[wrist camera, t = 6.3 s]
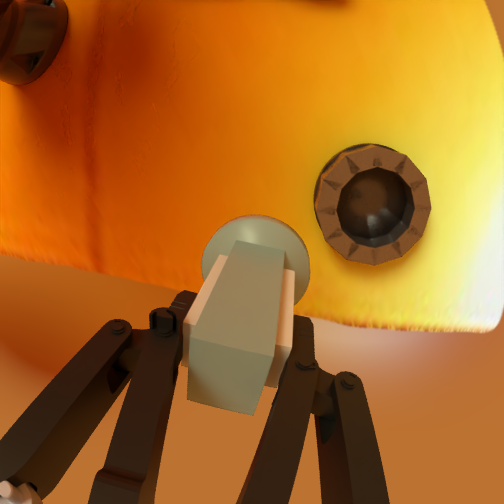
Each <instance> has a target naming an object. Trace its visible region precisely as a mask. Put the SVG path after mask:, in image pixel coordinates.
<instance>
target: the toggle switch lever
mask: <svg viewBox="0 0 504 504" xmlns="http://www.w3.org/2000/svg"><path fill="white" fill-rule="evenodd" d="M220 254H221V255H225V256H228V258H227V260H226V262H225V264H224V266H223V268H222V271H221V273H220V275H219V277H218V279H217V281H216V283H215V285H214V287H213V289H212V291H211V294H210V296H209V298H208V300H207V302H206V304H205V306H204V308H203V310H202V313H201V315H200V317H199V319H198V321H197V323H196V325H195V327H194V330H193V332H192V334H191V336H190V347H189V365H188V388H187V400H190V401H194V402H198V403H201V404H205V405H209V406H213V407H217V408H221V409H226V410H230V411H234V412H238V413H243V414H248V415H254V412H255V409H256V406H257V404H258V401H259V398H260V395H261V393H262V390H263V386H264V384H265V381H266V378H267V375H268V372H269V369H270V366H271V363H272V360H273V357H274V350H275V342H276V333H277V324H278V315H279V305H280V296H281V286H282V275H283V268H284V269H288V270H293V271H295V279H294V305H295V304H297V303H298V302H299V300H300V299H301V298H302V297H303V295H304V293H305V292H306V289H307V287H308V284H309V280H310V263H309V255H308V251H307V248H306V246H305V244H304V242H303V240H302V239H301V237H300V236H299V235H298V234H297V233H296V232H295V231H294V229H292V228H291V227H290V226H289V225H287V224H286V223H284V222H282V221H280V220H278V219H275V218H273V217H269V216H264V215H245V216H241V217H238V218H235V219H232V220H230V221H229V222H227V223H225V224H224V225H223V226H221V227H220V228H219V229H218V230H217V231H216V233H215V234H214V235H213V237H212V238H211V240H210V241H209V243H208V244H207V246H206V248H205V250H204V253H203V257H202V265H201V268H202V275H203V279H204V282H205V280H206V278H207V277H208V275H209V273H210V271H211V269H212V267H213V266H214V264H215V262H216V260H217V258H218V256H219V255H220Z"/></svg>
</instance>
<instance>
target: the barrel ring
mask: <svg viewBox="0 0 504 504" xmlns="http://www.w3.org/2000/svg"><path fill="white" fill-rule="evenodd" d="M314 210H315V214H316V218H317V221H318V224H319V226H320V228H321V230H322V232H323V235H324V238H325V241H326V242H328V243H329V244H330V245H331V246H332V247H333V248H334V249H335V250H337V251H338V252H339V253H340V254H341V255H342V256H343V257H344V258H345V259H346V260H351V261H356V262H361V263H366V264H371V265H377V264H380V263H383V262H386V261H390V260H393V259H396V258H399V257H402V256H403V255H404V254H405V253H406V252H407V251H408V250H409V249H410V248H411V247H412V246H413V245H414V244H415V243H416V242H417V241H418V240H419V239H420V238H421V237H422V235H423V232H424V229H425V226H426V223H427V220H428V217H429V214H430V211H431V203H430V197H429V191H428V185H427V180H426V178H425V177H424V175H423V174H422V173H421V172H420V171H419V169H418V168H417V167H416V166H415V165H414V163H413V162H412V161H411V160H410V159H409V158H408V157H407V155H404V154H401V153H399V152H397V151H395V150H393V149H391V148H389V147H386V146H383V145H379V144H371V143H366V144H358V145H354V146H351V147H348V148H346V149H344V150H342V151H340V152H339V153H337V154H336V155H335V156H333V157H332V158H331V159H330V160H329V161H328V163H327V164H326V165H325V166H324V168H323V169H322V171H321V173H320V175H319V177H318V179H317V182H316V185H315V190H314Z"/></svg>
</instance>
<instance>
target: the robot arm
mask: <svg viewBox="0 0 504 504" xmlns="http://www.w3.org/2000/svg"><path fill="white" fill-rule="evenodd" d="M67 20H68V13H67V7H66V5H65V3H64V1H63V0H0V80H1V81H3V82H5V83H8V84H12V85H20V84H28V83H30V82H32V81H34V80H36V79H37V78H38V77H39V76H40V75H41V74H42V73H43V72H44V71H45V70H46V69H47V68H48V66H49V65H50V64H51V62H52V61H53V59H54V57H55V56H56V54H57V52H58V50H59V48H60V46H61V43H62V41H63V38H64V35H65V31H66V27H67ZM227 258H228V256H225V255H221V254H220V255H219V256H218V258H217V260H216V262H215V264H214V266H213V267H212V269H211V271H210V273H209V275H208V277H207V278H206V280H205V282H204V284H203V286H202V288H201V289H200V291H199V293H194V292H190V291H186V290H184V291H182V292H180V293H179V294H177V296H176V297H175V299H174V301H173V302H172V304H171V306H170V307H169V308H164V307H162V308H157V309H154V310H153V311H151V313H150V314H149V321H150V329H146V330H140V329H132V326H131V325H130V323H129V322H127V321H125V320H121V319H114V320H110V321H109V322H107V323H106V324H105V325H104V326H103V327H102V328H101V329H100V330H99V331H98V332H97V333H96V334H95V335H94V336H93V337H92V338H91V339H90V340H89V341H88V342H87V343H86V344H85V346H83V347H82V348H81V350H80V351H79V352H78V353H77V354H76V355H75V356H74V357H73V358H72V359H71V360H70V361H69V362H68V363H67V364H66V366H65V367H64V368H63V369H62V370H61V371H60V372H59V373H58V374H57V375H56V376H55V378H54V379H53V380H52V381H51V382H50V383H49V384H48V385H47V386H46V387H45V389H44V390H43V391H42V392H41V393H40V394H39V395H38V397H37V398H36V399H35V400H34V401H33V402H32V403H31V404H30V406H29V407H28V408H27V409H26V410H25V411H24V413H23V414H22V415H21V416H20V417H19V418H18V420H17V421H16V422H15V423H14V424H13V425H12V427H11V428H10V429H9V430H8V432H7V433H6V434H5V435H4V436H3V438H2V439H1V440H0V504H43V503H42V500H43V499H44V498H45V497H46V496H47V495H48V494H50V493H51V492H52V490H53V489H54V488H55V487H56V485H57V484H58V483H59V481H60V480H61V478H62V477H63V475H64V474H65V472H66V471H67V469H68V468H69V466H70V465H71V464H72V462H73V461H74V459H75V458H76V456H77V455H78V453H79V452H80V450H81V449H82V447H83V446H84V445H85V443H86V442H87V440H88V439H89V437H90V436H91V434H92V433H93V432H94V430H95V429H96V427H97V426H98V424H99V423H100V421H101V420H102V418H103V417H104V416H105V414H106V413H107V412H108V410H109V409H110V407H111V406H112V404H113V403H114V402H115V400H116V399H117V397H118V396H119V395H120V393H121V392H122V390H123V389H124V388H125V386H126V385H127V383H128V382H129V381H130V379H131V381H130V384H129V387H128V390H127V393H126V396H125V399H124V402H123V405H122V408H121V411H120V414H119V418H118V420H117V423H116V427H115V430H114V433H113V436H112V440H111V443H110V447H109V450H108V453H107V457H106V460H105V464H104V467H103V468H102V469H101V470H99V471H98V472H97V474H96V476H95V479H94V482H93V485H92V489H91V493H90V497H89V501H88V504H154V498H155V491H156V485H157V479H158V473H159V467H160V462H161V456H162V451H163V445H164V440H165V434H166V429H167V424H168V419H169V414H170V409H171V404H172V399H173V395H174V390H175V385H176V381H177V376H178V366H179V364H180V361H181V359H182V363H181V365H182V366H185V367H188V365H189V347H190V336H191V334H192V332H193V330H194V327H195V325H196V323H197V321H198V319H199V317H200V315H201V313H202V310H203V308H204V306H205V304H206V302H207V300H208V298H209V296H210V294H211V291H212V289H213V287H214V285H215V283H216V281H217V279H218V277H219V275H220V273H221V271H222V268H223V266H224V264H225V262H226V260H227ZM294 279H295V271H293V270H288V269H284V268H283V275H282V286H281V296H280V305H279V315H278V324H277V333H276V342H275V350H274V357H273V360H272V363H271V366H270V369H269V372H268V375H267V378H266V381H265V384H264V386H269V387H274V388H277V385H278V390H277V392H276V395H275V398H274V400H273V402H272V407H271V410H270V413H269V416H268V419H267V422H266V425H265V428H264V431H263V434H262V436H261V439H260V442H259V445H258V448H257V450H256V453H255V456H254V459H253V461H252V464H251V467H250V469H249V472H248V475H247V477H246V480H245V483H244V485H243V488H242V490H241V493H240V495H239V497H238V500H237V502H236V504H288V502H289V499H290V495H291V492H292V488H293V485H294V481H295V477H296V473H297V470H298V466H299V462H300V457H301V453H302V449H303V445H304V440H305V436H306V431H307V427H308V422H309V418H310V413H312V414H314V417H315V427H316V437H317V447H318V458H319V470H320V484H321V499H322V504H390V503H389V498H388V492H387V486H386V481H385V476H384V472H383V466H382V462H381V457H380V452H379V448H378V443H377V439H376V435H375V431H374V426H373V422H372V418H371V414H370V410H369V407H368V402H367V398H366V395H365V391H364V387H363V384H362V381H361V379H360V378H359V377H357V375H355V374H353V373H351V372H346V371H345V372H340V373H338V374H337V375H336V376H335V375H332V374H330V373H327V372H325V371H324V370H322V369H321V368H319V366H318V363H317V361H316V360H315V354H314V353H315V352H314V333H313V332H314V328H313V323H312V322H311V320H310V318H308V317H303V316H298V315H293V312H294ZM278 383H279V384H278Z"/></svg>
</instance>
